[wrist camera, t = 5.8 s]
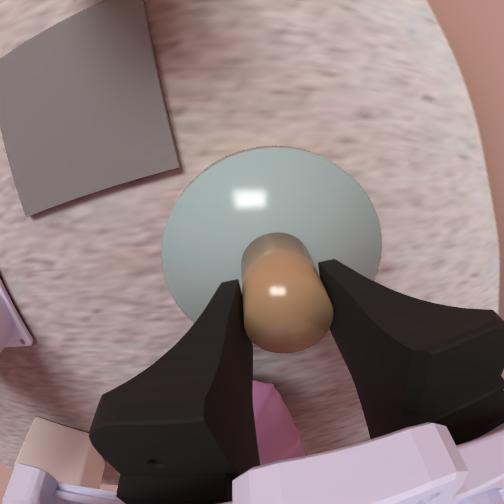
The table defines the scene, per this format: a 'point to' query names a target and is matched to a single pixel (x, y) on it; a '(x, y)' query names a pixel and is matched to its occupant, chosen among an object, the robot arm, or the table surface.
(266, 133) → the table surface
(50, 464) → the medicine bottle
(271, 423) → the toy character
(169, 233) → the lid
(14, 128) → the mat
